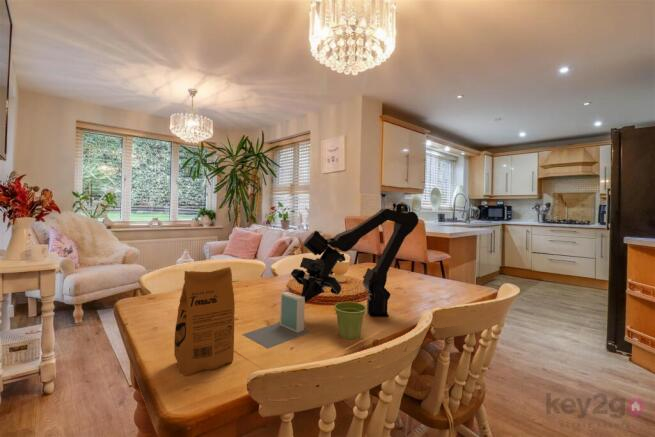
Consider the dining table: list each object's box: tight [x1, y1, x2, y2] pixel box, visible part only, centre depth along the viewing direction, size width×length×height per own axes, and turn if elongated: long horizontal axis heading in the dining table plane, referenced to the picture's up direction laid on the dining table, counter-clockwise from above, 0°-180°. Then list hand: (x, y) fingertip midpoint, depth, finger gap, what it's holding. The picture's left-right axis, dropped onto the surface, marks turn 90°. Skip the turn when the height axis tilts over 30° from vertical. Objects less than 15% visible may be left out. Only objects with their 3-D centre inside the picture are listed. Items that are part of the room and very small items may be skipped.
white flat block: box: [279, 291, 306, 333], centre depth 92 cm, size 3×8×10 cm, turn 48°
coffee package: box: [173, 266, 236, 377], centre depth 70 cm, size 10×12×22 cm
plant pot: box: [333, 301, 367, 340], centre depth 88 cm, size 9×9×9 cm
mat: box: [242, 321, 312, 349], centre depth 88 cm, size 16×12×1 cm
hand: (301, 302), depth 94 cm, fingers closed
